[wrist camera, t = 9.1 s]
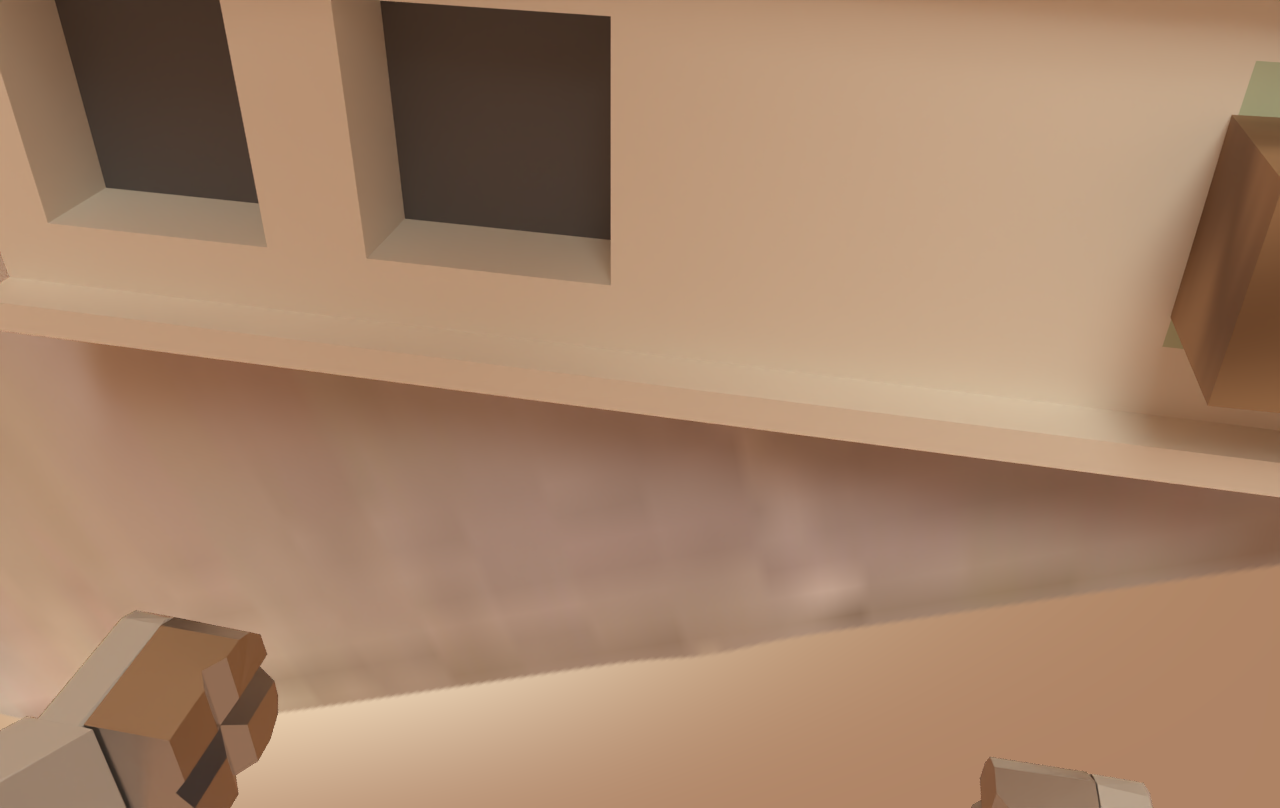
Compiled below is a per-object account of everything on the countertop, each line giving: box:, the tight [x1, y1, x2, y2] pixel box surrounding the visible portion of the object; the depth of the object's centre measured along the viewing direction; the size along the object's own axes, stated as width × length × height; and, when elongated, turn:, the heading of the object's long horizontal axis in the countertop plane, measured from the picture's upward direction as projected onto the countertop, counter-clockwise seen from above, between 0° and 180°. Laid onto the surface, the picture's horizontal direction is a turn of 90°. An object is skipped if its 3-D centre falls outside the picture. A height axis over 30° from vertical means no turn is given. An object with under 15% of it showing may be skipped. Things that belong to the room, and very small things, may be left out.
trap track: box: [0, 0, 1280, 497], centre depth 27 cm, size 13×40×6 cm, turn 89°
